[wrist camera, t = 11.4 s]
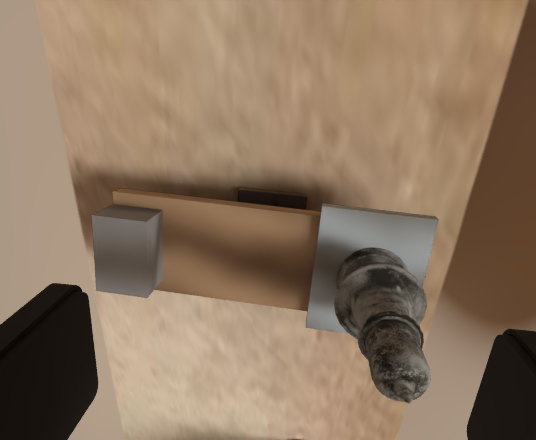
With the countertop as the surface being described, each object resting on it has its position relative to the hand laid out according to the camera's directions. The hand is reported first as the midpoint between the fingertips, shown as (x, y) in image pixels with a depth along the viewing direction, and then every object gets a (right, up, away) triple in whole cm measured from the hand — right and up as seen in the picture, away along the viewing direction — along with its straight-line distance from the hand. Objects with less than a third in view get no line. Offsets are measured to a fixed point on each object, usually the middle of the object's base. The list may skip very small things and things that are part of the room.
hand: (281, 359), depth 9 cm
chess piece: (+7, -1, +20) cm, 21 cm away
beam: (-1, +1, +22) cm, 22 cm away
